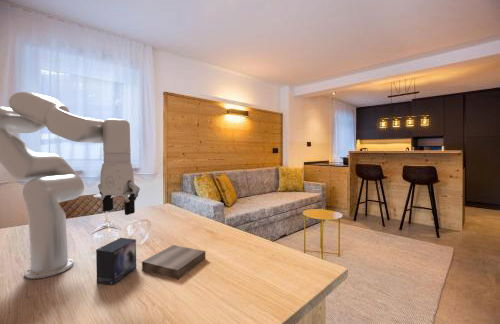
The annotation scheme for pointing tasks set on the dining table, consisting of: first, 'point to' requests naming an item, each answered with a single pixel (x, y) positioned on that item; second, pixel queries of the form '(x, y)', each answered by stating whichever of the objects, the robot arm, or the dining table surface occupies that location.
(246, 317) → the dining table surface
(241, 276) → the dining table surface
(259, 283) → the dining table surface
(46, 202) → the robot arm
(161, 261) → the plinth
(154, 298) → the dining table surface
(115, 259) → the small box
